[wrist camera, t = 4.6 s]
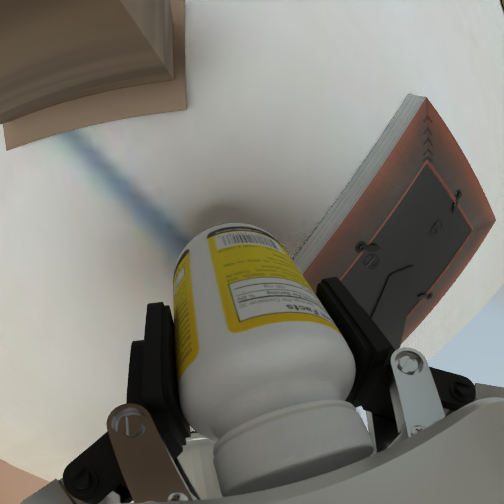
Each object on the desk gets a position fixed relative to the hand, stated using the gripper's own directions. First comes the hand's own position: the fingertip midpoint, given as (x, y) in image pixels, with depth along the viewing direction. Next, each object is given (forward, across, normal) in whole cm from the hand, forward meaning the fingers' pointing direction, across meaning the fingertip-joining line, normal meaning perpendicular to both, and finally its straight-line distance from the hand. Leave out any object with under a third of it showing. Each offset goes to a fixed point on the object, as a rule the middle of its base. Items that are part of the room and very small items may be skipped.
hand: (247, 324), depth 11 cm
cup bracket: (+7, +6, -16) cm, 19 cm away
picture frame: (+9, -13, +4) cm, 16 cm away
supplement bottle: (+4, 0, 0) cm, 4 cm away
